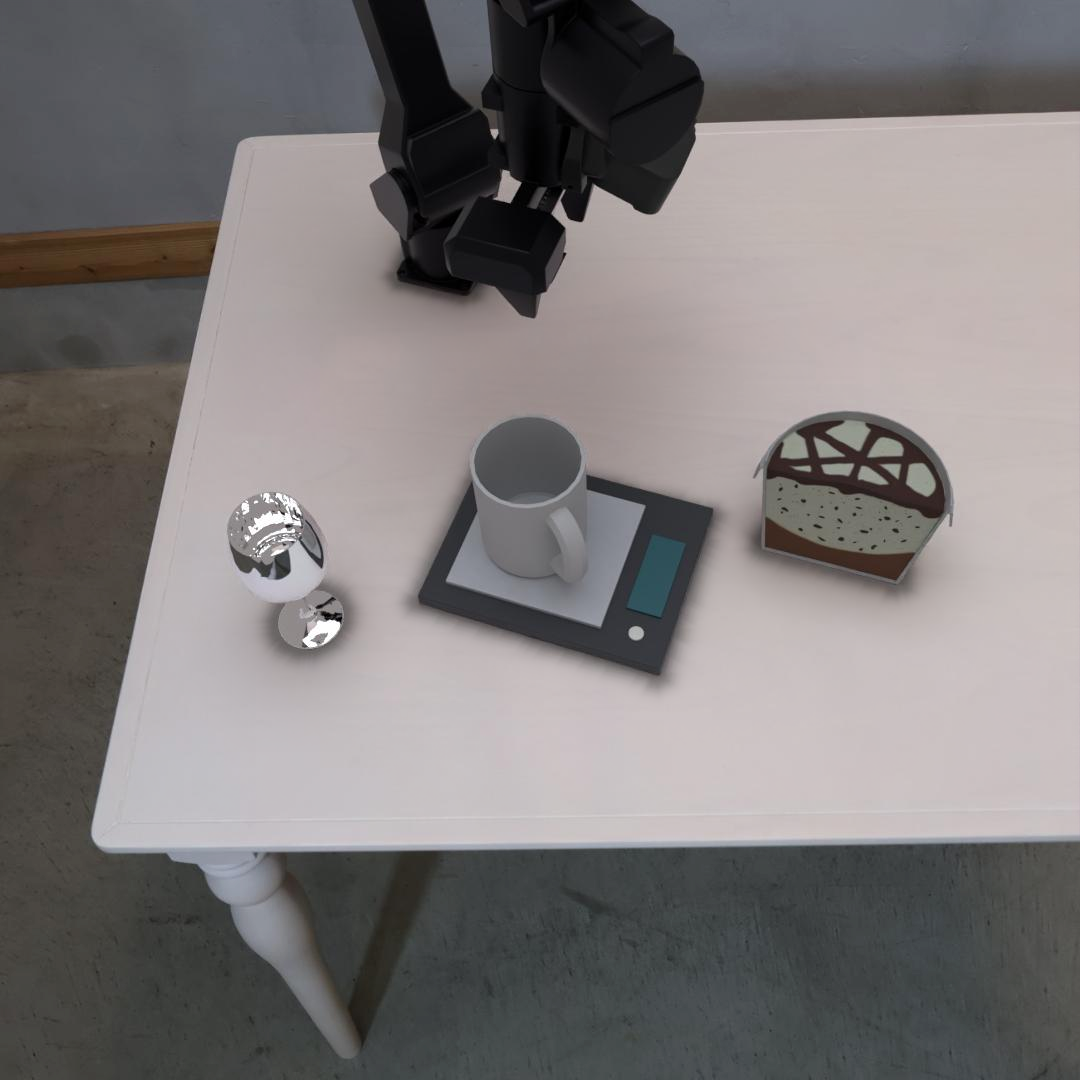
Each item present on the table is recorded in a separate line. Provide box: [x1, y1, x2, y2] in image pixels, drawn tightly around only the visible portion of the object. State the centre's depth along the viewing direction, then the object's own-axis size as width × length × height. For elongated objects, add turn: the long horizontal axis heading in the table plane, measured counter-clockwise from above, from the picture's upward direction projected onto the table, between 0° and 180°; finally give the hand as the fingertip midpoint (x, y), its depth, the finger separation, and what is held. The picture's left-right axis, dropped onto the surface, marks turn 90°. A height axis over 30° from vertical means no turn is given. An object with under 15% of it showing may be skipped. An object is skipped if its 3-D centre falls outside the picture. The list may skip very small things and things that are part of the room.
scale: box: [417, 474, 714, 676], centre depth 77 cm, size 17×13×1 cm
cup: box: [469, 413, 588, 583], centre depth 73 cm, size 7×10×9 cm
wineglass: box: [226, 491, 345, 650], centre depth 71 cm, size 6×6×12 cm
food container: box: [752, 410, 955, 585], centre depth 74 cm, size 12×6×10 cm, turn 71°
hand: (553, 266), depth 75 cm, fingers open, 9 cm apart
